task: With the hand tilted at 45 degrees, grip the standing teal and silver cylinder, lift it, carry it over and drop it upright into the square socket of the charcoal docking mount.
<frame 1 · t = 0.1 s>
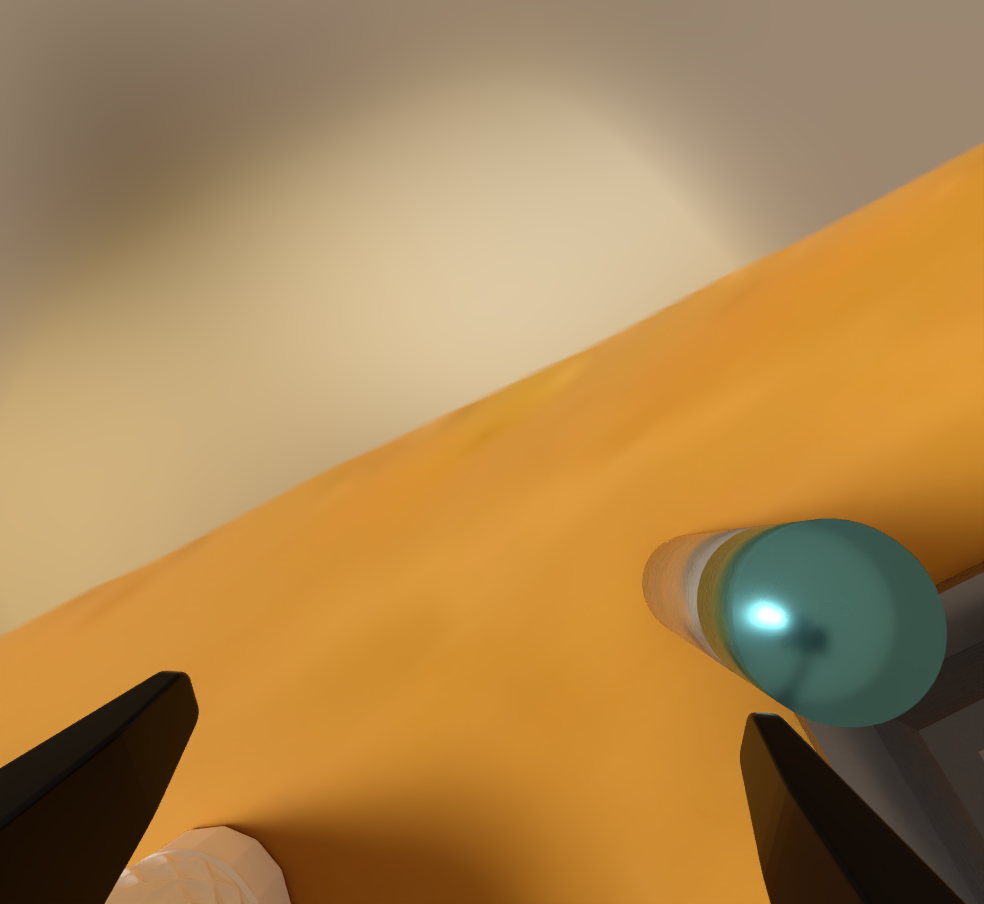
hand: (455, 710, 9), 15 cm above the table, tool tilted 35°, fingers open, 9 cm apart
teal and silver cylinder: (693, 585, 23), on the table
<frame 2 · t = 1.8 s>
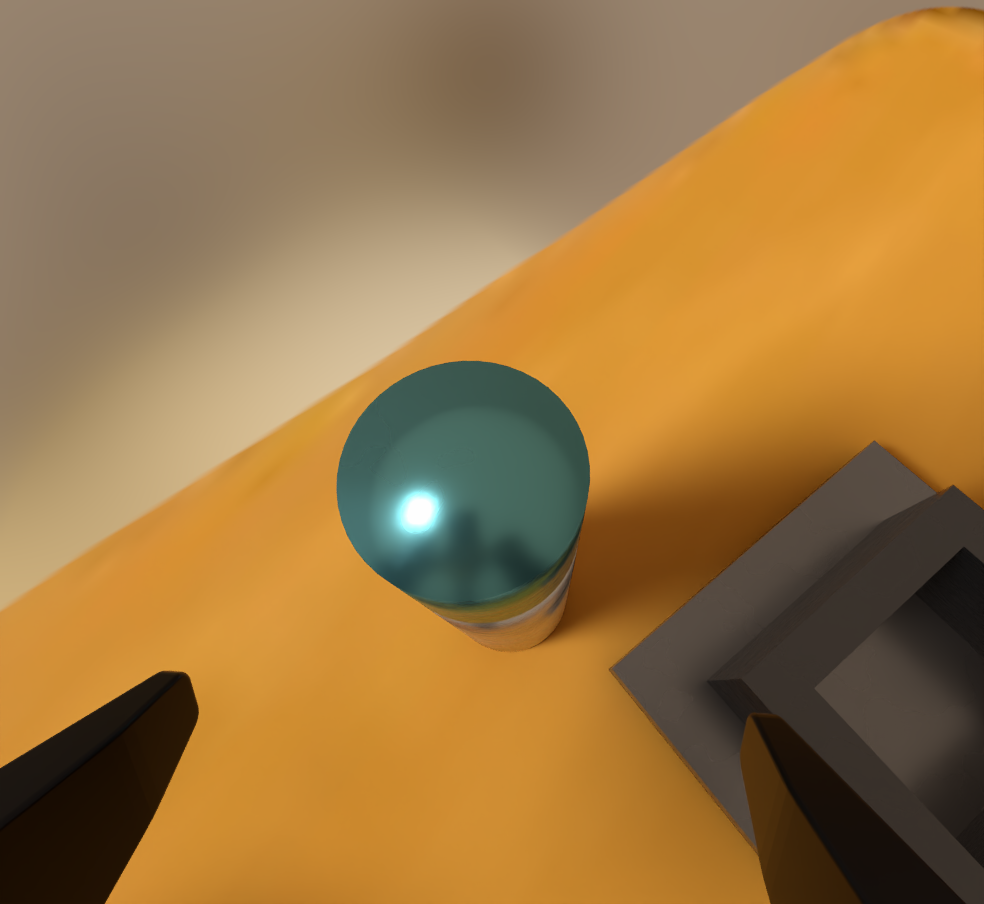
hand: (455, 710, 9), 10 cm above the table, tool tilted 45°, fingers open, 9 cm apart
teal and silver cylinder: (508, 591, 20), on the table
docking mount: (889, 706, 18), on the table
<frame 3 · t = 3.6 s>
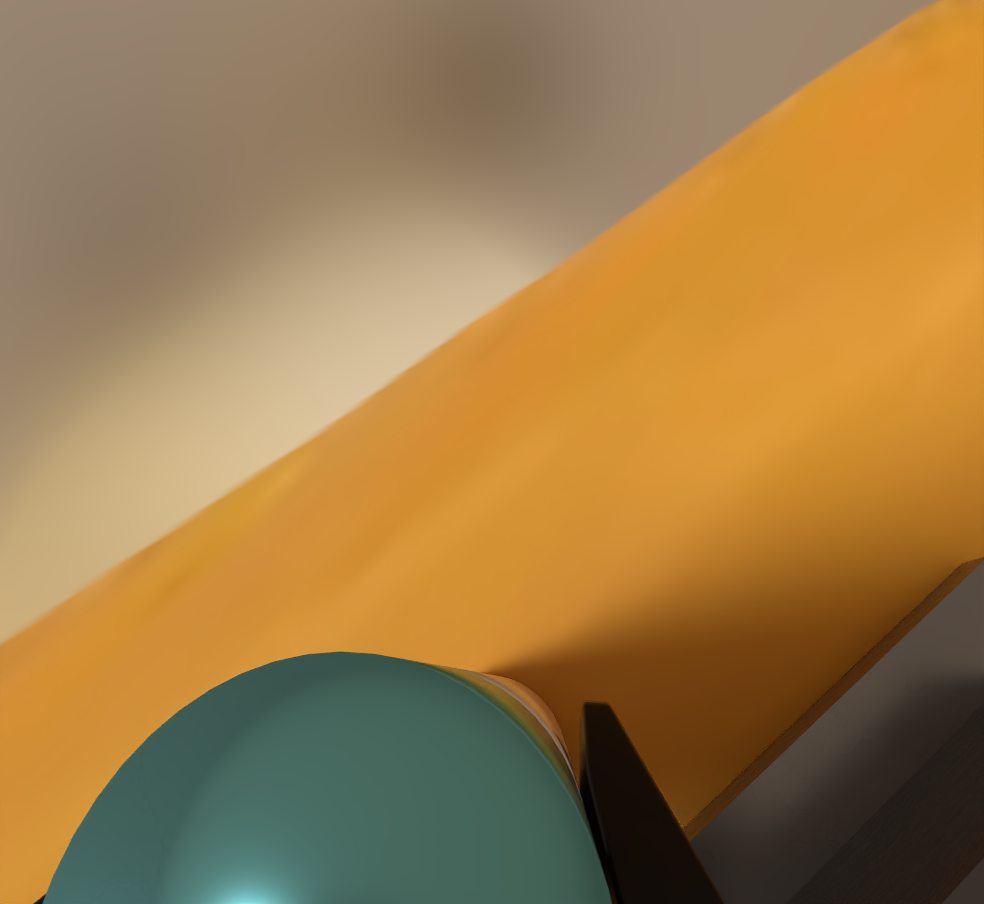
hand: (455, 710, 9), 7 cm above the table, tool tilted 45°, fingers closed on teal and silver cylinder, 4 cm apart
teal and silver cylinder: (488, 759, 15), on the table, touching gripper
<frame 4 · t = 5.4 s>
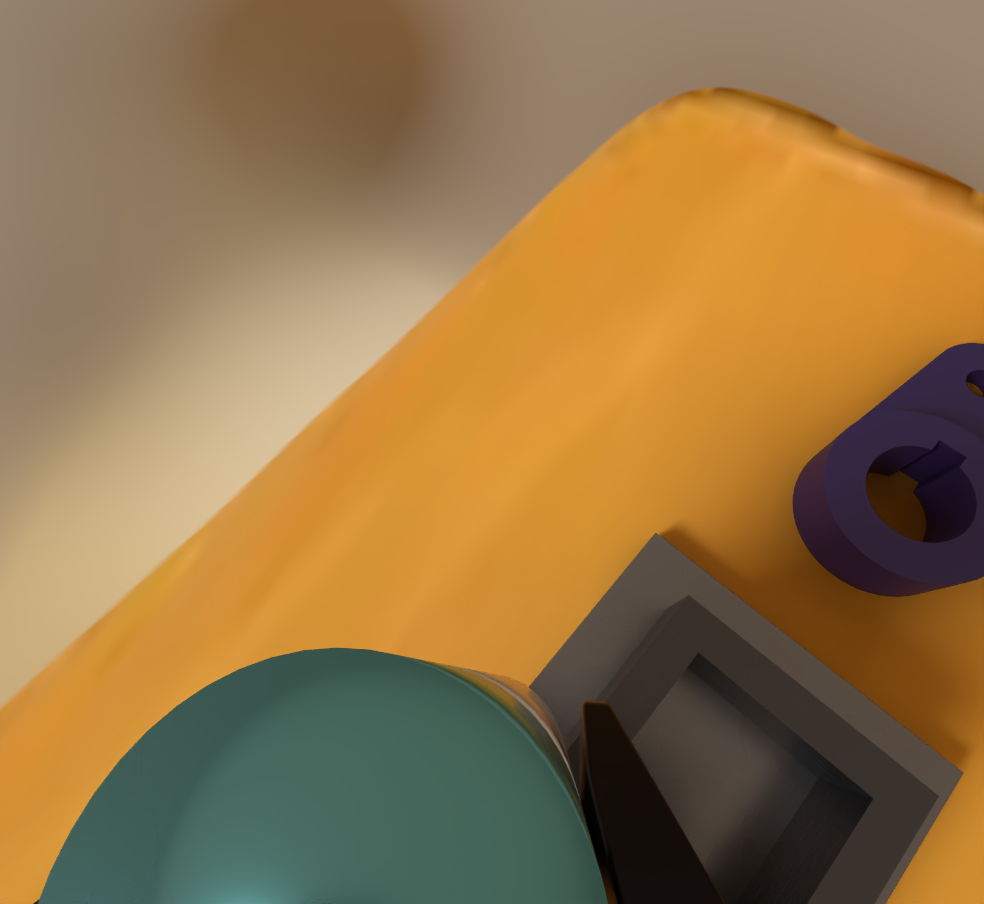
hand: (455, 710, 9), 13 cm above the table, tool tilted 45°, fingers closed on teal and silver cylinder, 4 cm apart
lever: (908, 467, 24), on the table
teal and silver cylinder: (487, 757, 15), point 7 cm above the table, touching gripper
docking mount: (688, 778, 20), on the table
when the fingers open (9 cm above the table, at t = 7.2 s): teal and silver cylinder drops 1 cm, resting on docking mount.
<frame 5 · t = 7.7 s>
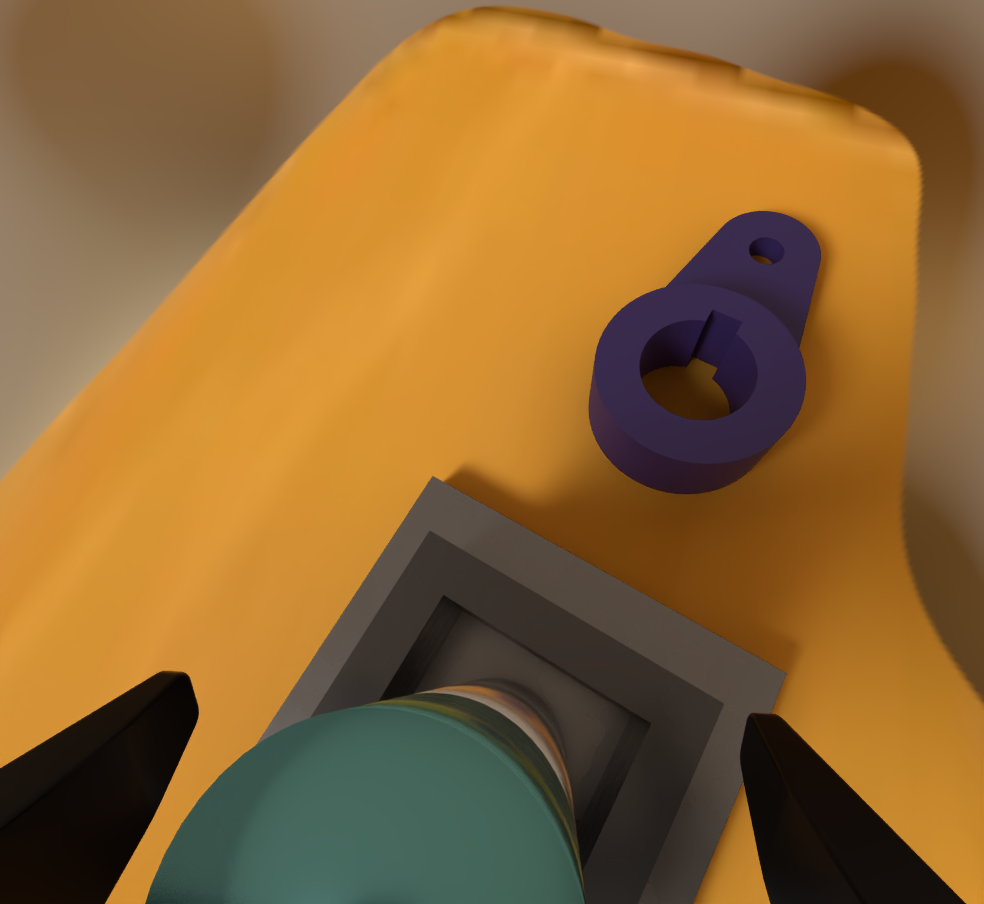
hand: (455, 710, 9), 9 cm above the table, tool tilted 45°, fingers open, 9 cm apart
lever: (709, 355, 22), on the table
teal and silver cylinder: (493, 755, 16), point 1 cm above the table, touching docking mount
docking mount: (496, 748, 17), on the table
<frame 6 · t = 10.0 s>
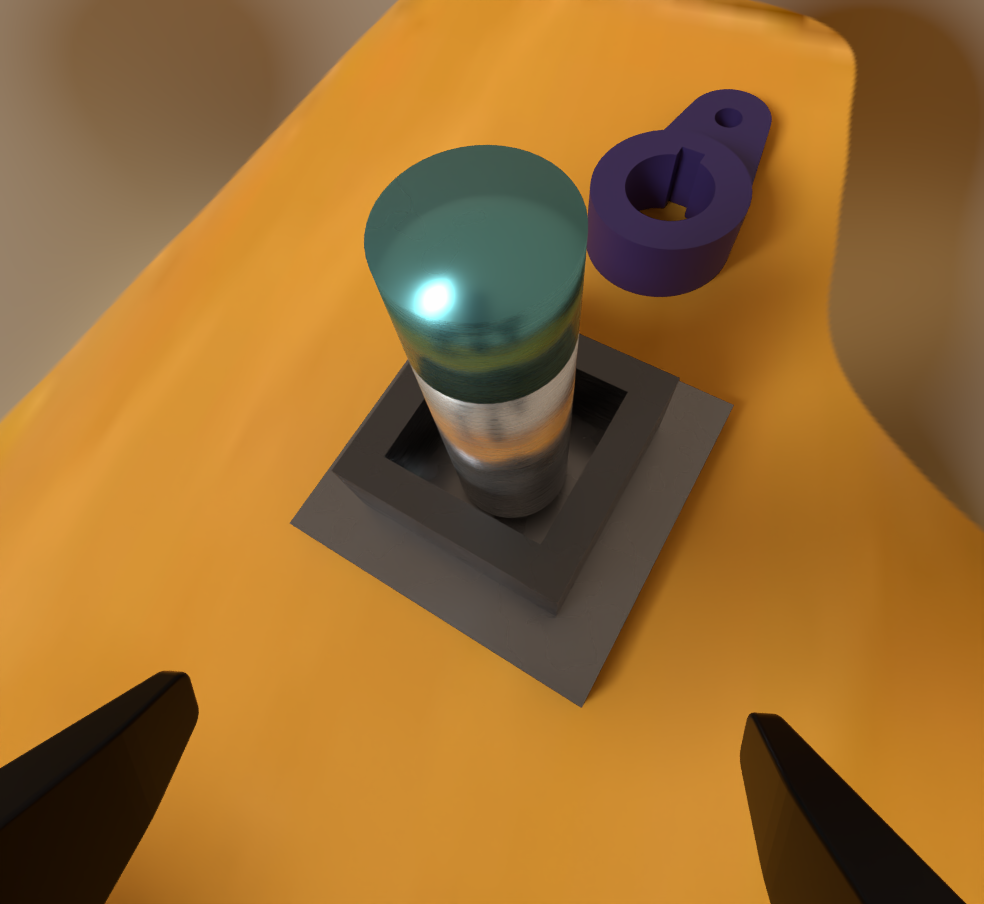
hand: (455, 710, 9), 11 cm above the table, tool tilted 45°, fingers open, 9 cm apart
lever: (682, 202, 27), on the table
teal and silver cylinder: (512, 465, 21), point 1 cm above the table, touching docking mount
docking mount: (514, 473, 22), on the table
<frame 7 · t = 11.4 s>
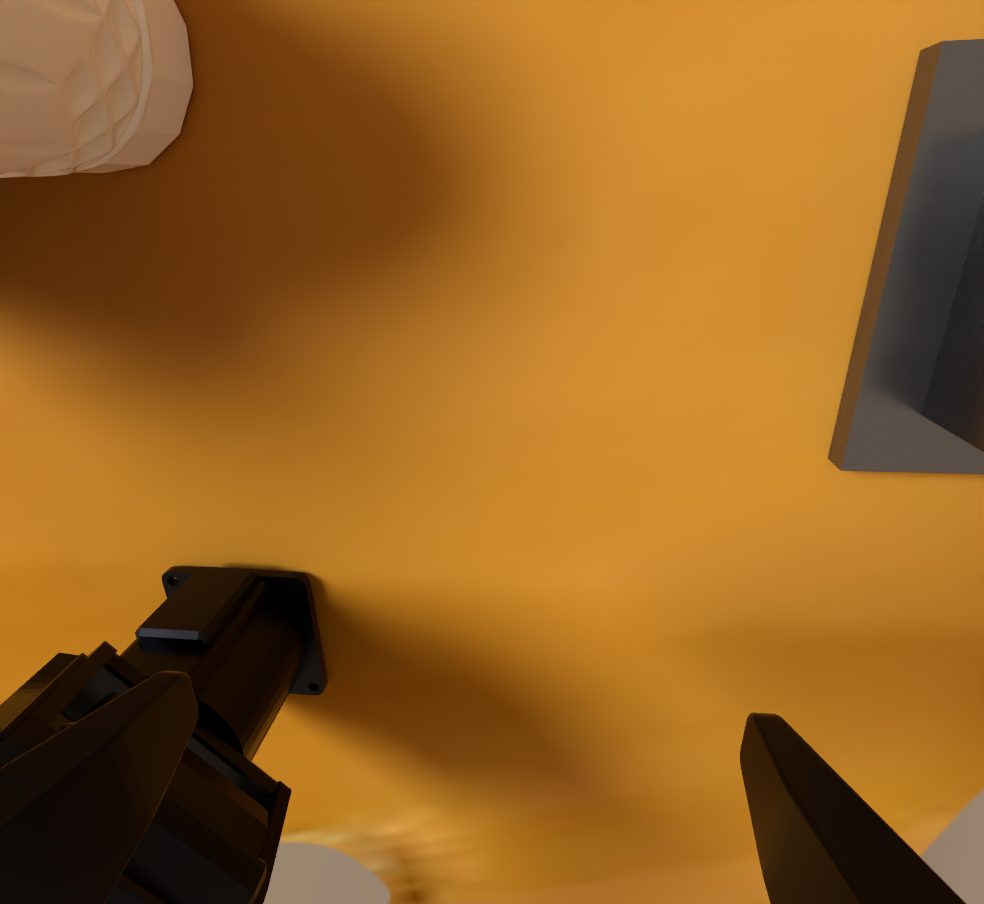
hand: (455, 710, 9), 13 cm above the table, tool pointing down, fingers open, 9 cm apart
white cup: (95, 52, 18), on the table
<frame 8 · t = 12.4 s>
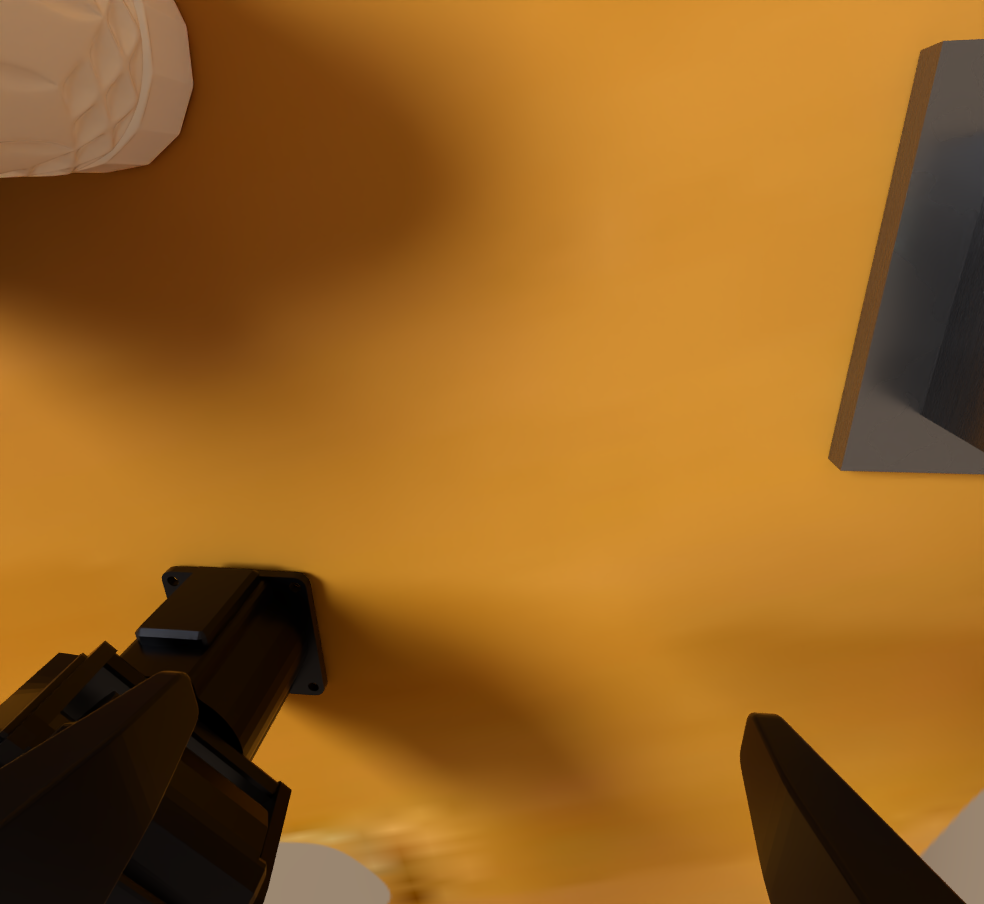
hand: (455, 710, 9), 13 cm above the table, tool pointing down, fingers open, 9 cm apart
white cup: (95, 52, 18), on the table
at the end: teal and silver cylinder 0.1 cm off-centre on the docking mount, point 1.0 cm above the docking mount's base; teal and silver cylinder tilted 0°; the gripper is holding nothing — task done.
